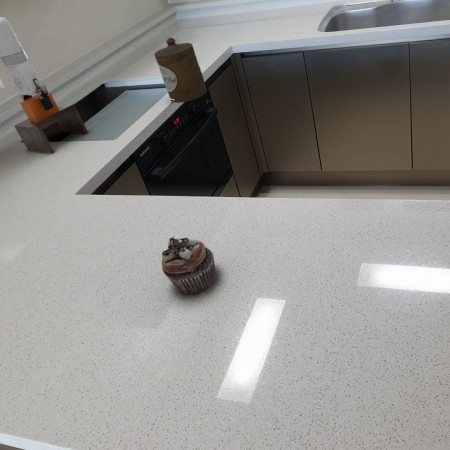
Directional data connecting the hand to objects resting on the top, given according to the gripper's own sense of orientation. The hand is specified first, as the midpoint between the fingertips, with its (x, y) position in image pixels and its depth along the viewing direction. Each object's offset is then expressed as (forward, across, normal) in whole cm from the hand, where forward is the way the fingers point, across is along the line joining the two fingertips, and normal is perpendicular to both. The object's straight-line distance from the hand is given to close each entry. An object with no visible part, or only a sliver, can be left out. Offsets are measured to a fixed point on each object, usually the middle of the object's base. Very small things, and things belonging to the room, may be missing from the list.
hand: (41, 108), depth 160 cm
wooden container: (+13, +27, +43) cm, 52 cm away
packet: (+3, 0, 0) cm, 3 cm away
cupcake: (+13, +102, -43) cm, 111 cm away
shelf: (+13, 0, 0) cm, 13 cm away
